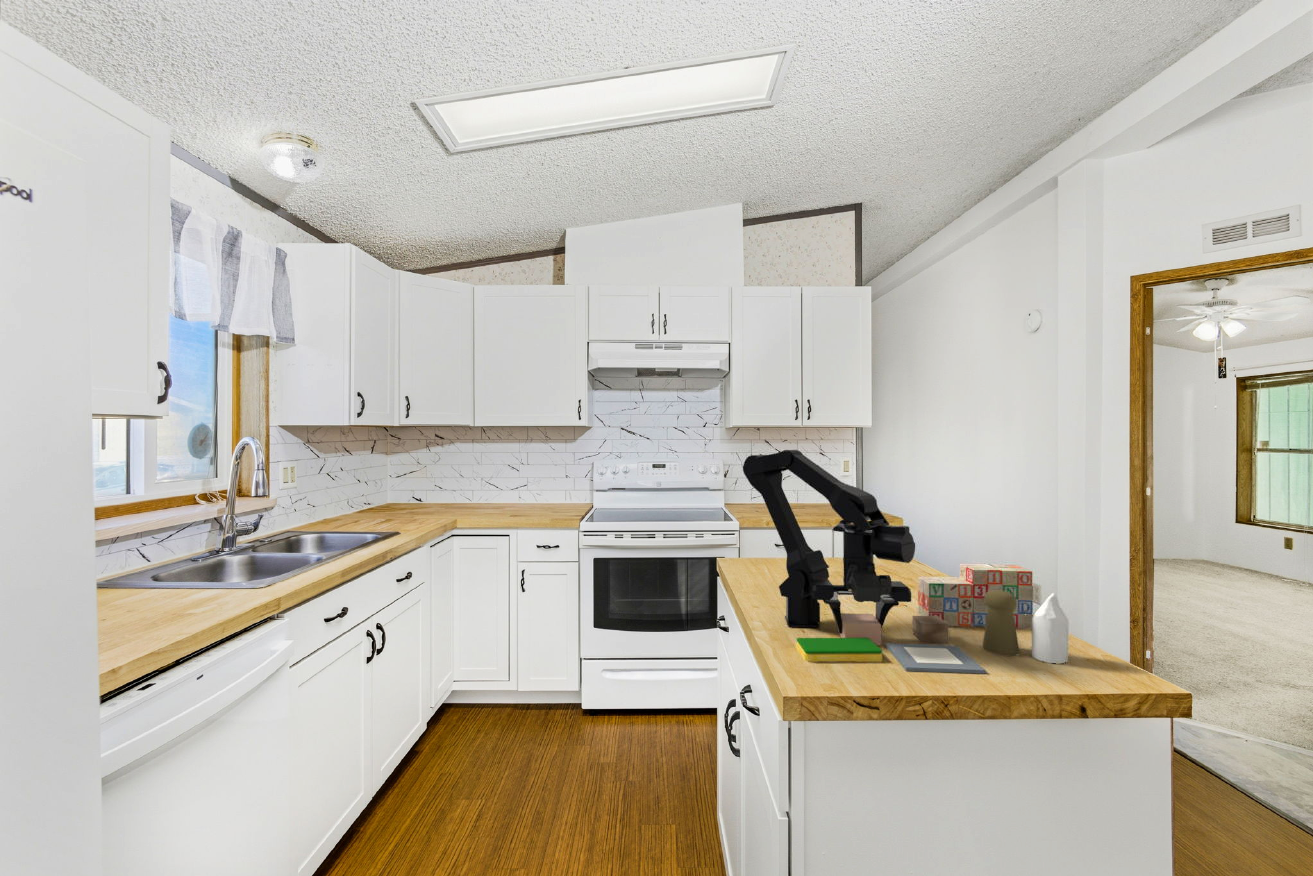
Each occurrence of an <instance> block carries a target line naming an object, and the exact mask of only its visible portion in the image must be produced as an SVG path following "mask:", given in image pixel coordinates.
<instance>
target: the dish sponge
mask: <svg viewBox="0 0 1313 876" xmlns="http://www.w3.org/2000/svg"><path fill="white" fill-rule="evenodd" d="M796 650H797V651H798V653H799V654H800V655H801V657H802V659H803V658H804V659H803V660H804V662H806V661H810V662H809V663H819V662H818V661H857V662H860V663H864V662H869V663H872V662H873V663H874V662H875V663H876V662H878V663H879V662H880V663H882V662H883V650H882V649H881V647H879V645H876V644H874V643H873V642H872V641H871V640H870V639H869V638H841V637H797V638H796ZM857 662H856V663H857Z"/></svg>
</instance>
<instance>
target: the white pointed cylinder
mask: <svg viewBox="0 0 1313 876" xmlns="http://www.w3.org/2000/svg"><path fill="white" fill-rule="evenodd" d="M1069 623H1070V622H1069V618H1068V617H1067V615H1066V614H1065V612H1064V610H1063V608H1062V607H1061V606H1060V602H1059V599H1058V596H1057V595H1056V593H1055V592H1052V593H1051V594H1050V595H1049V596H1048V597H1047V598H1046V600H1045V601H1044V602H1043V603H1042V604H1041V606H1040V607H1039V608H1038V609H1037V610H1036V612H1035V613H1034V612H1033V617H1032V628H1031V657H1032V658H1034V659H1036V660H1038V661H1040V662H1043V661H1044V662H1043V663H1046V662H1047V663H1048V664H1051V663H1056V664H1055V665H1058V664H1057V663H1064V664H1066V663H1067V662H1068V661H1069V660H1068V659H1069V658H1068V656H1069V640H1070V639H1069V636H1070V635H1069V629H1070V628H1069V626H1070V625H1069ZM1065 662H1066V663H1065Z"/></svg>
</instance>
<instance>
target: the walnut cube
mask: <svg viewBox="0 0 1313 876" xmlns="http://www.w3.org/2000/svg"><path fill="white" fill-rule="evenodd" d="M912 636H913V637H915V638H916V639H917V640H918V641H919V643H920V644H931V645H950V644H949V626H948V623H946V622H945V621H944V620H942V619H941V618H940V617H938V616H918V615H912Z"/></svg>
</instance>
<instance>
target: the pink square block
mask: <svg viewBox="0 0 1313 876" xmlns="http://www.w3.org/2000/svg"><path fill="white" fill-rule="evenodd" d="M841 619H842V634H840V633H839V630H838V629H837V630H838V634H839V637H840V638H869V639H870V640H871V641H872V642H873V643H874V644H876V645H877V646H882V629H881V624H880V623H879V622H878V620H877V619H876V618H875V616H874V614H872V613H844V612H841Z"/></svg>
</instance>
